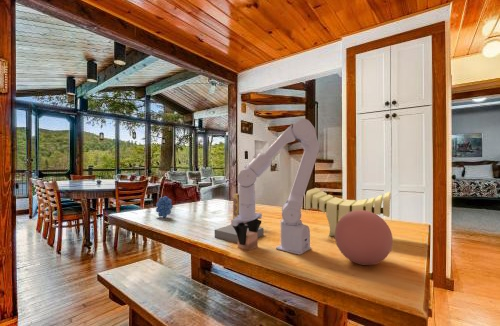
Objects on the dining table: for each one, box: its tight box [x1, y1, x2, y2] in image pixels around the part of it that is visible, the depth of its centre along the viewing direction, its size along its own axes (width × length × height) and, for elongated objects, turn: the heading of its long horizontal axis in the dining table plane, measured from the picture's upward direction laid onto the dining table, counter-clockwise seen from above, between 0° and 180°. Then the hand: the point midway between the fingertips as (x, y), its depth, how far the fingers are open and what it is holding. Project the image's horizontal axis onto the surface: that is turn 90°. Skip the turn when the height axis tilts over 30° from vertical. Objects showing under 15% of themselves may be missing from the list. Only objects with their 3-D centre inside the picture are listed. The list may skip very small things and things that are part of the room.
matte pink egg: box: [334, 210, 394, 266], centre depth 76 cm, size 15×20×15 cm
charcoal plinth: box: [214, 224, 264, 244], centre depth 102 cm, size 14×14×3 cm
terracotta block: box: [237, 230, 258, 251], centre depth 89 cm, size 5×5×5 cm
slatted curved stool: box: [304, 187, 392, 238], centre depth 102 cm, size 30×16×18 cm, turn 59°
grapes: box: [155, 195, 174, 219], centre depth 139 cm, size 12×7×12 cm, turn 64°
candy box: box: [232, 192, 247, 225], centre depth 119 cm, size 9×4×15 cm, turn 123°
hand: (247, 242), depth 89 cm, fingers closed on terracotta block, 5 cm apart
